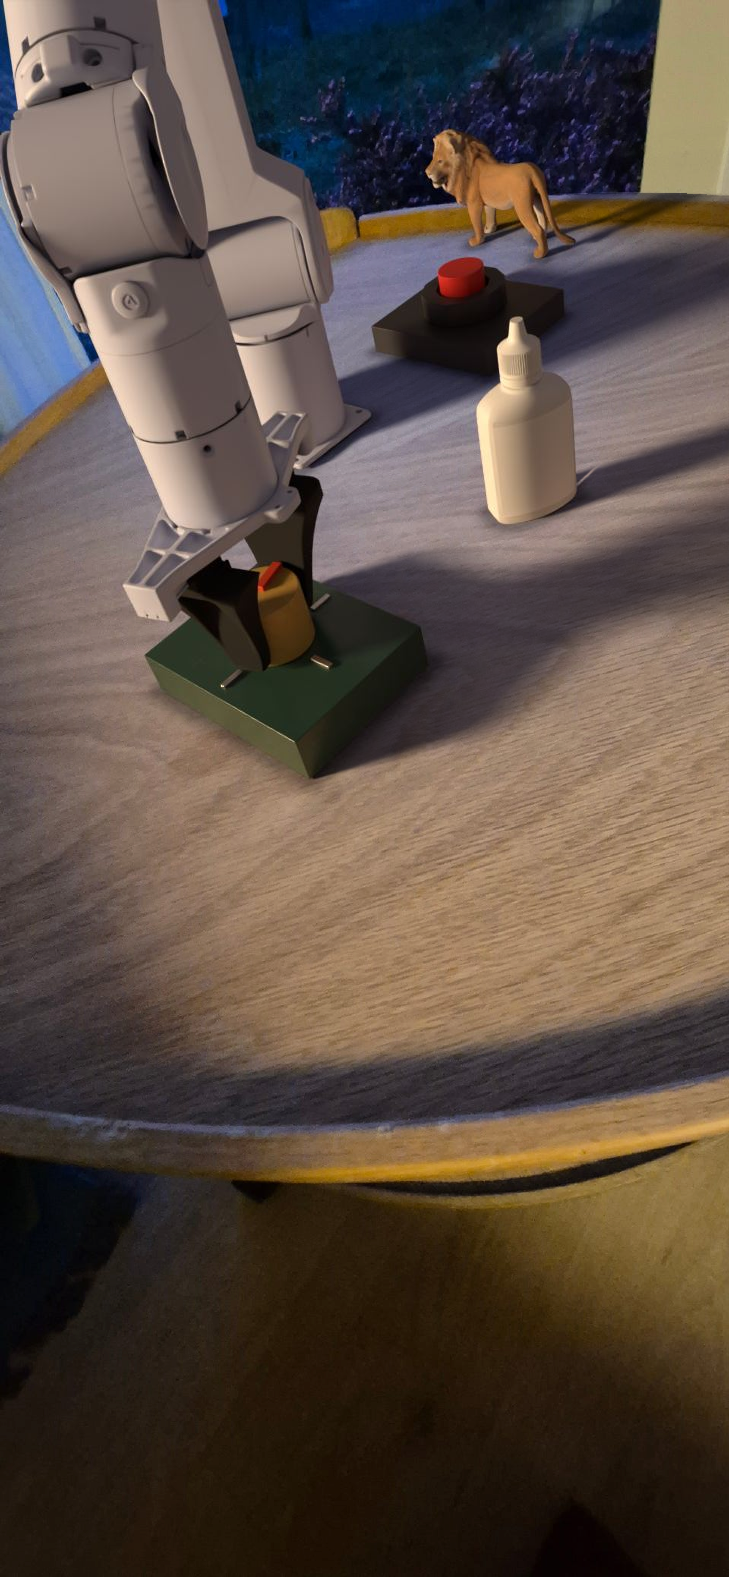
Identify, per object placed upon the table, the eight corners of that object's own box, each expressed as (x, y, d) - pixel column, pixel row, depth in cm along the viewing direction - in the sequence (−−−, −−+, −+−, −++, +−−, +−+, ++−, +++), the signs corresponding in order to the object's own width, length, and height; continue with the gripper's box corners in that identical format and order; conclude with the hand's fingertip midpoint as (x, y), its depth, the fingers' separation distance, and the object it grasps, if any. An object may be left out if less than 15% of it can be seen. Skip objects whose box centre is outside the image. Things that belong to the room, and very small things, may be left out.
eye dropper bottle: (575, 522, 59) (565, 332, 50) (485, 528, 61) (461, 345, 52) (578, 481, 62) (569, 294, 53) (492, 488, 63) (470, 307, 54)
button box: (376, 352, 79) (366, 304, 76) (450, 297, 83) (444, 248, 80) (489, 378, 73) (483, 326, 70) (565, 316, 76) (562, 265, 73)
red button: (431, 297, 75) (428, 275, 74) (459, 277, 77) (456, 254, 75) (466, 304, 73) (463, 280, 72) (495, 282, 75) (492, 259, 73)
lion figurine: (428, 249, 90) (412, 141, 84) (461, 224, 92) (448, 118, 86) (560, 263, 82) (554, 146, 76) (592, 236, 84) (589, 119, 78)
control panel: (162, 691, 57) (142, 653, 55) (276, 595, 61) (262, 555, 58) (310, 780, 50) (294, 740, 48) (429, 665, 54) (420, 623, 51)
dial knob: (291, 673, 51) (271, 620, 48) (225, 660, 53) (202, 608, 50) (328, 620, 53) (312, 566, 50) (264, 609, 55) (244, 556, 52)
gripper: (173, 513, 37) (270, 742, 47) (339, 329, 44) (392, 561, 55) (43, 497, 40) (161, 715, 50) (218, 327, 47) (290, 548, 58)
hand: (274, 634), depth 53 cm, fingers closed on dial knob, 4 cm apart
